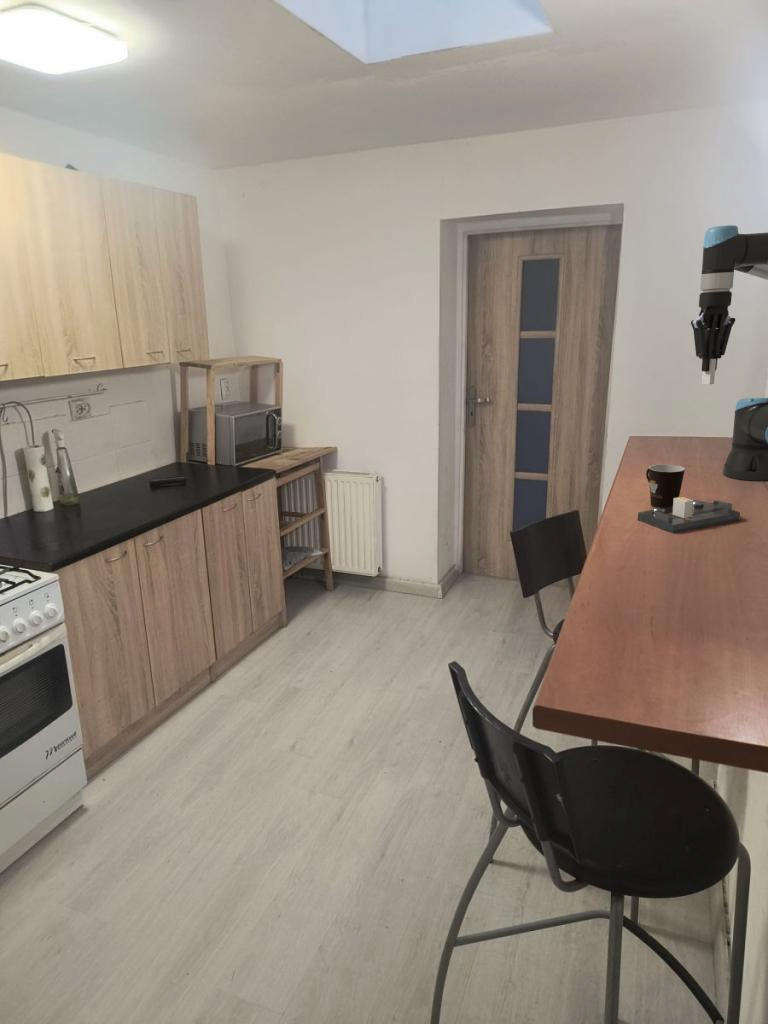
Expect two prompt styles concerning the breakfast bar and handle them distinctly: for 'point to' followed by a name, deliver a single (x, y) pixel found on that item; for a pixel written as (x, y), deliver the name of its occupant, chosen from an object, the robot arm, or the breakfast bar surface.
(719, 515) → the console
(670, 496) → the coffee mug
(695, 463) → the breakfast bar surface
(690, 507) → the fader knob
